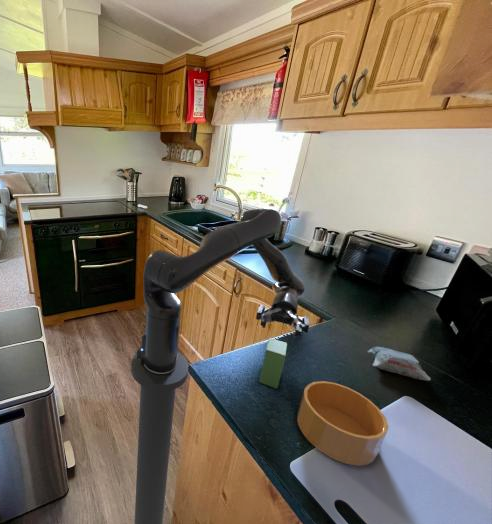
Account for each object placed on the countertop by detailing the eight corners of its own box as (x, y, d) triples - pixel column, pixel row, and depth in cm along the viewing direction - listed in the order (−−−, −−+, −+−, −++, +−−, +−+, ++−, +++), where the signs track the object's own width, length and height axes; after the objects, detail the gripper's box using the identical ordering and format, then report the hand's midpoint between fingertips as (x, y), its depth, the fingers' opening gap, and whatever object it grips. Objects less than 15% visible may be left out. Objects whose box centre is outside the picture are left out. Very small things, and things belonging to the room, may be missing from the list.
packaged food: (426, 387, 74) (433, 372, 73) (370, 371, 79) (375, 356, 78) (415, 368, 82) (422, 353, 80) (364, 354, 87) (369, 340, 85)
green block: (258, 382, 74) (266, 349, 71) (262, 368, 79) (269, 337, 76) (277, 388, 72) (285, 355, 69) (279, 374, 77) (287, 342, 74)
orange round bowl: (295, 442, 58) (303, 416, 56) (298, 396, 70) (304, 372, 68) (383, 480, 52) (396, 452, 50) (369, 422, 64) (380, 397, 61)
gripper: (263, 290, 97) (255, 311, 83) (311, 301, 90) (311, 325, 77) (259, 310, 99) (251, 333, 86) (306, 322, 93) (305, 348, 80)
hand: (280, 329), depth 82 cm, fingers open, 8 cm apart
